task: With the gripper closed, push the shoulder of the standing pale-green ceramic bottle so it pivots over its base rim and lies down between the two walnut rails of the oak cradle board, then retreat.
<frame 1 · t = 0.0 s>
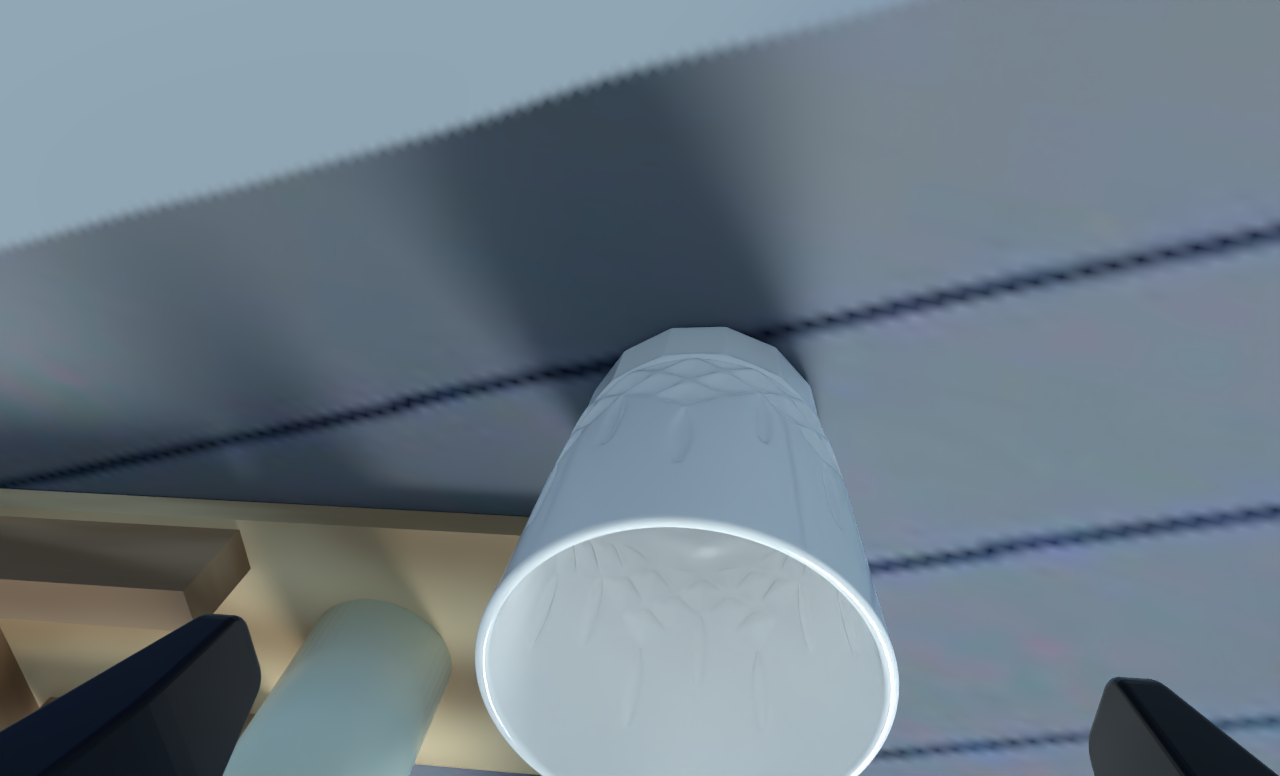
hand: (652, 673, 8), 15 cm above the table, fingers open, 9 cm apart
bottle: (382, 655, 28), point 1 cm above the table, touching cradle board
cradle board: (262, 625, 30), on the table
white cup: (703, 425, 24), on the table
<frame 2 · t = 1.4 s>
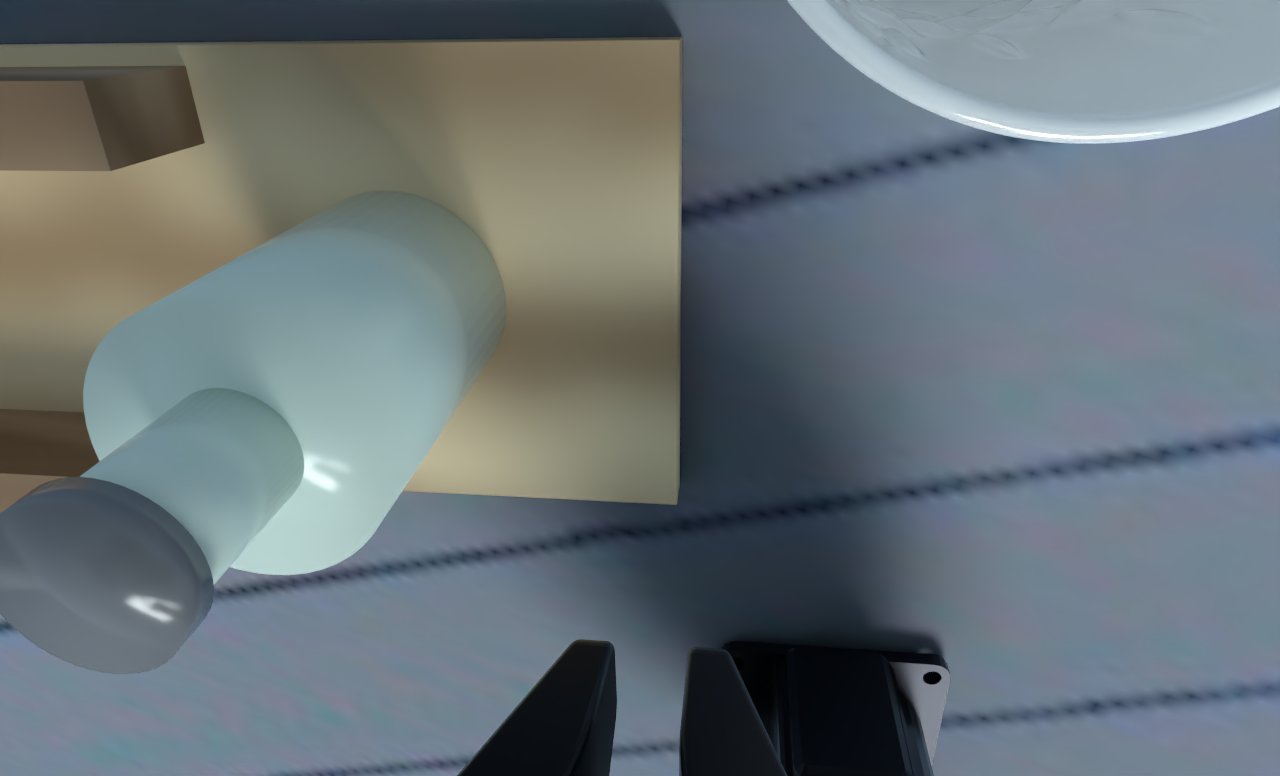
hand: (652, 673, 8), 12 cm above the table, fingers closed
bottle: (402, 296, 19), point 1 cm above the table, touching cradle board
cradle board: (226, 278, 20), on the table
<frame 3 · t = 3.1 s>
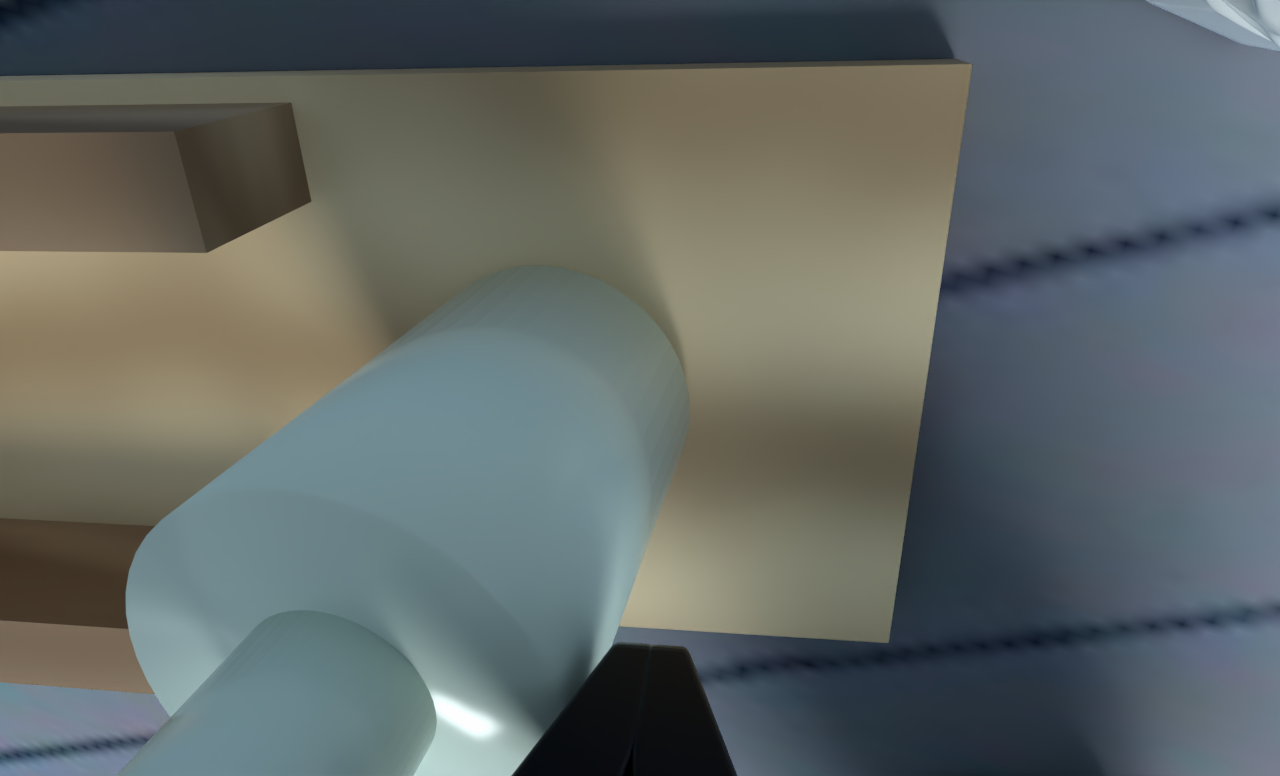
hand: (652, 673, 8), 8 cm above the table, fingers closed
bottle: (553, 399, 15), point 1 cm above the table, tilted 6°, touching cradle board, gripper
cradle board: (323, 363, 16), on the table
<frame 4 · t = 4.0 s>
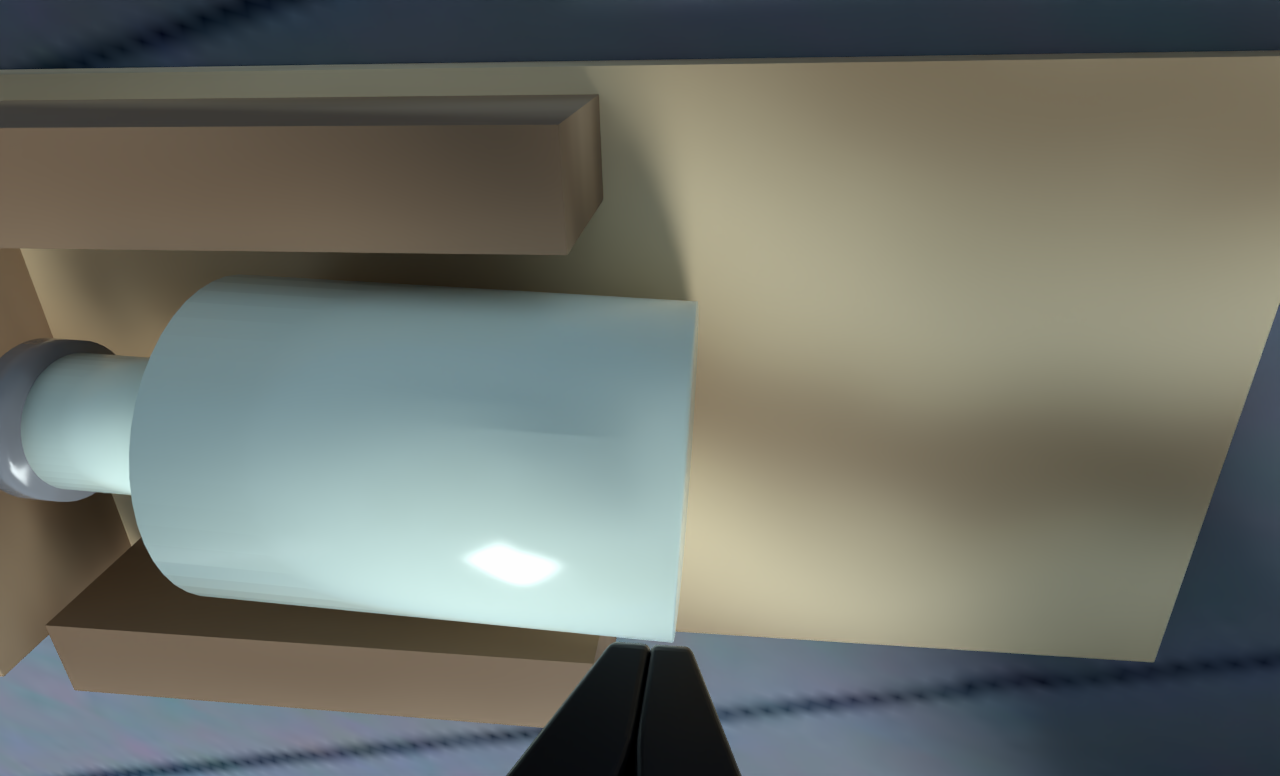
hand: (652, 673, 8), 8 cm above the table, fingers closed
bottle: (686, 468, 12), point 3 cm above the table, tilted 90°, touching cradle board
cradle board: (567, 369, 16), on the table
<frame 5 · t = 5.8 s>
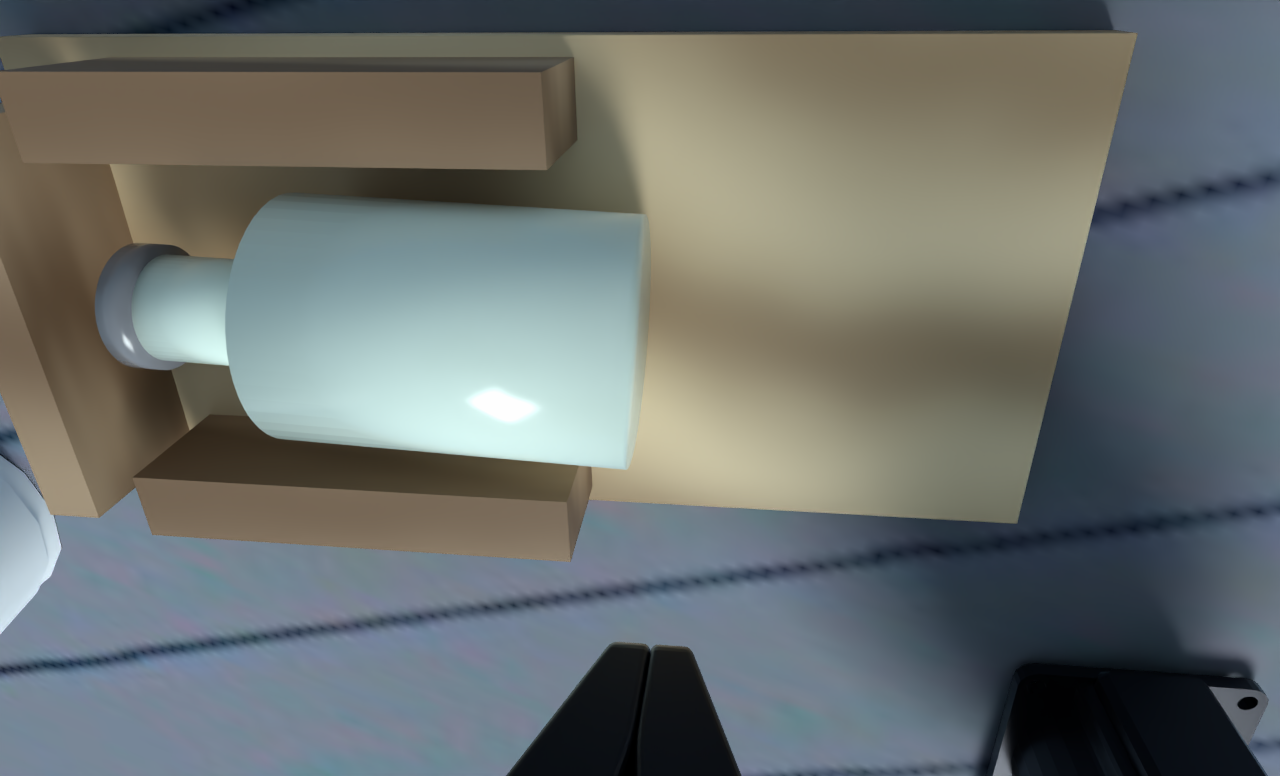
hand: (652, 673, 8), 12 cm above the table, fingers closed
bottle: (637, 343, 16), point 3 cm above the table, tilted 90°, touching cradle board
cradle board: (550, 282, 19), on the table
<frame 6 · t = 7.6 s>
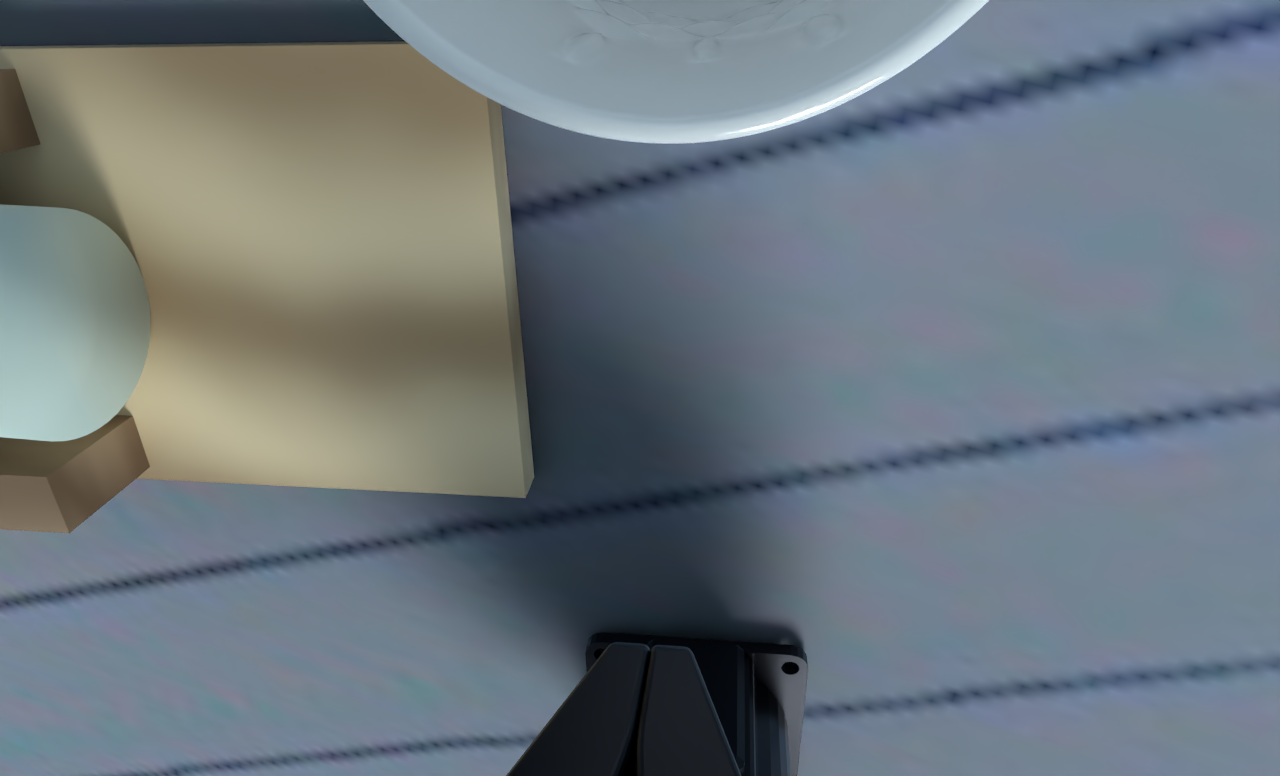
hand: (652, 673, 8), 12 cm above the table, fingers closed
bottle: (69, 326, 17), point 3 cm above the table, tilted 90°, touching cradle board
cradle board: (82, 276, 21), on the table
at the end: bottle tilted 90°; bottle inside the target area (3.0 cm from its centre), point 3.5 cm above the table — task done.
